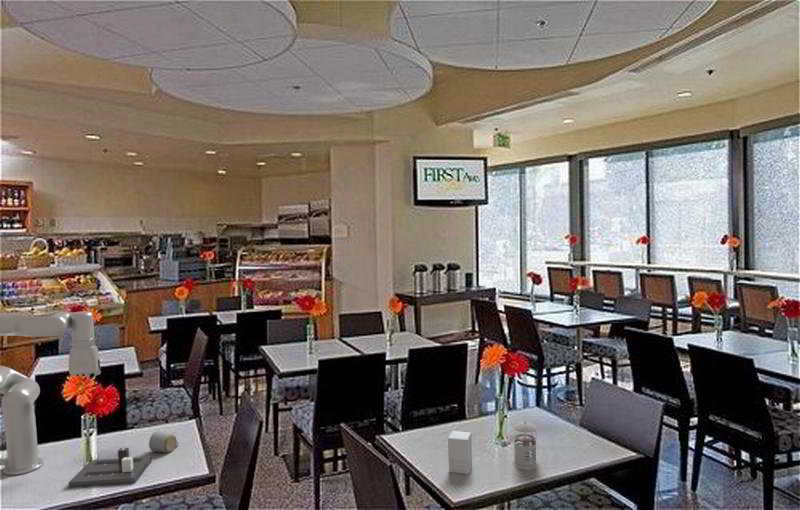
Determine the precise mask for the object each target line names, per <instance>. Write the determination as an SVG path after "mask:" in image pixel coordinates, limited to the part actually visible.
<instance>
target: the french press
mask: <svg viewBox="0 0 800 510" xmlns="http://www.w3.org/2000/svg"><path fill="white" fill-rule="evenodd" d="M522 401H524V402H523V403H524V406H526V401H528V397H526V396H522ZM513 428H514V430H515V431H518V432H521V433H522V434H521V433H519V434H517V435H515V436H514V439H515V440H514V447H513V449H514V453H513V454H514V455H513V456H514V459H513V460H512V461H511V465H513V467H515V468H517V469H519V470H520V469H521V470H529V471H530V470H535V469H538V467H539V466H540V464H539V462H538V461H537V454H536V453H537V436H534V434H533V432H535V433H537V431H536V430H537V426H535V425H534V424H533V423H531V422H528V421H520V422H517V423H516V424H514V425H513ZM526 433H531V434H526Z"/></svg>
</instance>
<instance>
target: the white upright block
mask: <svg viewBox="0 0 800 510" xmlns="http://www.w3.org/2000/svg"><path fill="white" fill-rule="evenodd" d="M132 470H133V456H129V457H124V458H123V459H122V472H131V471H132Z"/></svg>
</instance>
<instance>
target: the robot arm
mask: <svg viewBox="0 0 800 510" xmlns="http://www.w3.org/2000/svg"><path fill="white" fill-rule="evenodd" d="M70 330H71V339H72V340H69V341H68V345H69V346H71V348H70V350H69V355H68V372H69V375H70V377H73V376H75V375H77V376H79V377H83V376H86V378H88V379H90V378H91V380H92V379H93V378H94V377H96V376H99V375H101V373H102V371H101V367H102V366H101V365H102V364H101V357H100V352H99V348H98V347H97V345H96V340H95V323H94V314H93V312H91V311H89V310H88V311H87V310H84V311H77V312H76V311H75V312H74V311H73V312H72V311H71V312H70V311H58V312H56V313H54V314H52V315H47V316H44V315H43V316H30V315H24V314H23V313H20V312H0V337H7V336H8V337H11V336H13V337H14V336H18V337H29V338H30V337H31V338H37V337H39V338H40V337H56V336H60V335H62V334H64V333H65V332H67V331H70ZM40 388H41V387H40V385H39V383H38V382H37V381H35V380H34V379H33V378H30V377H28V376H26V375H24V374H22V373H21V372H18V371H17V370H15V369H12V367H11V368H10V367H8V366H5V365H0V394H2V395H3V396H2V399H1V411H2V414H3V419H4V430H5V441H6V443H5V444H6V456H7V457H0V466H4V467H3V468H2V469H3V470H2V471H3V474H4V475H7V476H8V475H9V476H17V475H18V476H19V475H23V474H26V473H27V474H28V473H31V472H34V471H35V470H38V469H39V468H41V467H42V466H43V465H44V459H42V458H40V457H39V449H38V435H37V434H38V433H37V425H36V424H37V423H36V414H35V410H34V403H35V401H36V400H37V399H38V397H39V396H40V393H41V389H40Z"/></svg>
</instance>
